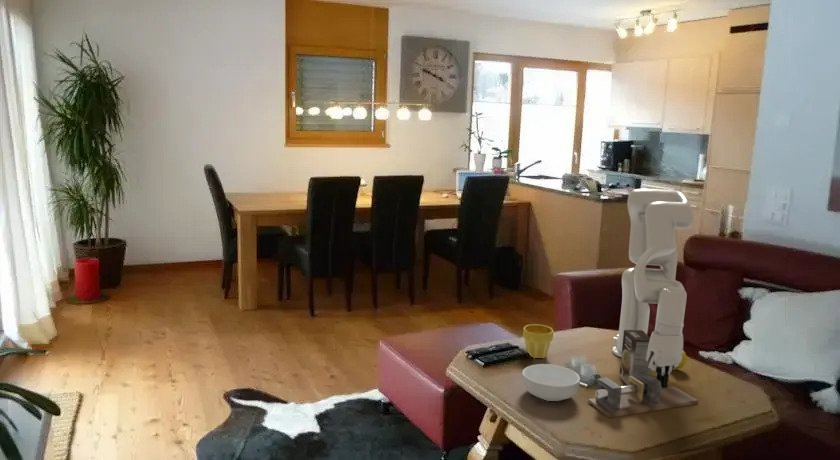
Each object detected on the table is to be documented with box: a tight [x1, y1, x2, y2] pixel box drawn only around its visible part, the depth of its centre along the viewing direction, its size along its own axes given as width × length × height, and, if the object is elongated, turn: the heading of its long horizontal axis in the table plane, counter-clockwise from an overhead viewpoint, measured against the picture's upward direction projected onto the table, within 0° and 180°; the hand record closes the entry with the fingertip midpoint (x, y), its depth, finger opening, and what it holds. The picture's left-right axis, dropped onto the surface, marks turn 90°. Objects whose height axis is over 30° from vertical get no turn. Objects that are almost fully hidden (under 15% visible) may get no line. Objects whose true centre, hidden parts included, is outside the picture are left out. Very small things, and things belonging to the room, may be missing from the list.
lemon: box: [673, 350, 687, 371], centre depth 217 cm, size 6×6×8 cm
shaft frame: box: [587, 372, 699, 419], centre depth 191 cm, size 32×10×8 cm, turn 111°
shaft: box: [594, 377, 661, 398], centre depth 189 cm, size 21×4×4 cm, turn 111°
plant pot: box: [522, 323, 554, 359], centre depth 224 cm, size 10×10×10 cm
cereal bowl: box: [521, 363, 581, 402], centre depth 193 cm, size 17×17×7 cm
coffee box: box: [618, 330, 651, 386], centre depth 205 cm, size 9×6×16 cm
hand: (661, 385), depth 193 cm, fingers closed
